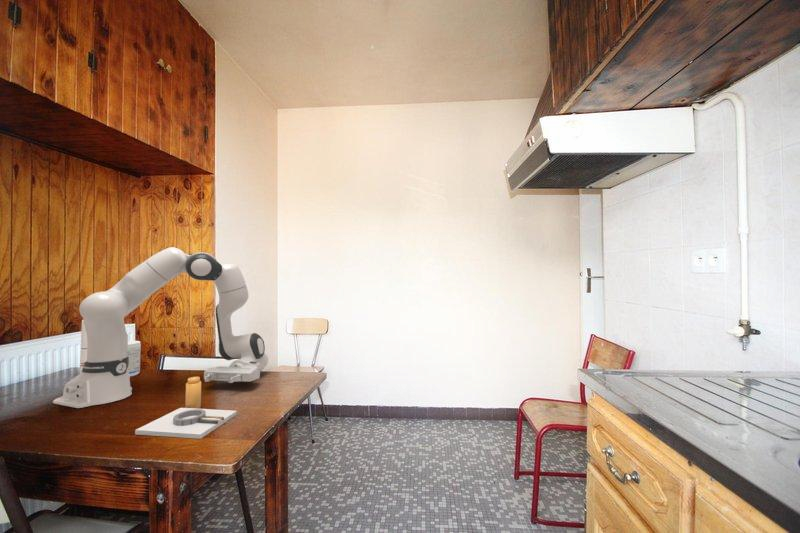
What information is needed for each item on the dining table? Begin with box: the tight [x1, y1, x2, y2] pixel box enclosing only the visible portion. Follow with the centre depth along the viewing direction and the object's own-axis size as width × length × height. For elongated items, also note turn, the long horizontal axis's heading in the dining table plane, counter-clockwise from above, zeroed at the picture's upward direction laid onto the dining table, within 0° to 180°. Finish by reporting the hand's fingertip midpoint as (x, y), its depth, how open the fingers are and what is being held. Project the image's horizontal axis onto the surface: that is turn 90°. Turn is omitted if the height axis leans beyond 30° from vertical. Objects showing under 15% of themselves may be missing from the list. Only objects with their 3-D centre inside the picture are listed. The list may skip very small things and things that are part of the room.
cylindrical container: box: [79, 319, 87, 374], centre depth 147 cm, size 7×7×25 cm
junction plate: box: [134, 407, 238, 440], centre depth 98 cm, size 20×16×3 cm
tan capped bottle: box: [184, 376, 202, 409], centre depth 110 cm, size 4×4×10 cm
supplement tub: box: [127, 340, 142, 378], centre depth 147 cm, size 10×10×15 cm
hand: (217, 380), depth 122 cm, fingers open, 8 cm apart
